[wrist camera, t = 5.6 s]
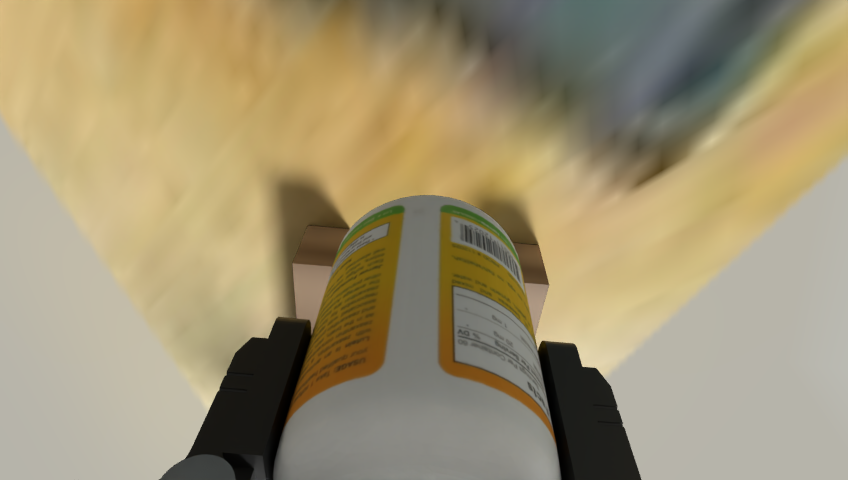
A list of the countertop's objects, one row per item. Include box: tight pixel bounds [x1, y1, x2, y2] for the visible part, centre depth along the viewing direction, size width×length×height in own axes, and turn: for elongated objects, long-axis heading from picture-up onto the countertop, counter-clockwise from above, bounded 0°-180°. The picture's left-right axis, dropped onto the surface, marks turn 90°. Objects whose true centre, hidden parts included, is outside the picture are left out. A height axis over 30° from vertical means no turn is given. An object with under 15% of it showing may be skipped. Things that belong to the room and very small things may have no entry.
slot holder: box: [292, 226, 549, 335], centre depth 27 cm, size 12×11×3 cm
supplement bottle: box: [273, 195, 562, 480], centre depth 11 cm, size 5×5×10 cm
